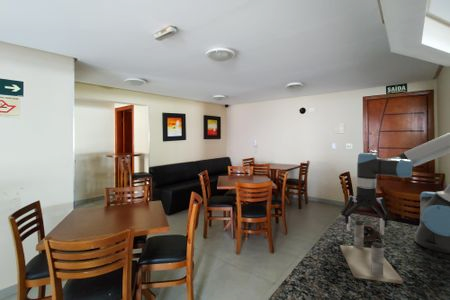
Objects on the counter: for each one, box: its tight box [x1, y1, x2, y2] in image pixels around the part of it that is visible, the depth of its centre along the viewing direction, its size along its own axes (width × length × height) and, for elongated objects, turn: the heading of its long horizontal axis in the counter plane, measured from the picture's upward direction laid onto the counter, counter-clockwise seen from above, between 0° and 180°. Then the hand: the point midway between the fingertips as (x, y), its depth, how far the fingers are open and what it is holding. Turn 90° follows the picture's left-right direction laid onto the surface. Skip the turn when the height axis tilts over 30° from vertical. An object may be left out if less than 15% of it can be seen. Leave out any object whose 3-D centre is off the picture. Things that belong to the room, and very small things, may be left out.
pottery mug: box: [363, 223, 383, 244], centre depth 100 cm, size 12×10×8 cm
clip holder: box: [339, 220, 404, 285], centre depth 82 cm, size 14×22×12 cm, turn 164°
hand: (364, 231), depth 101 cm, fingers open, 13 cm apart
